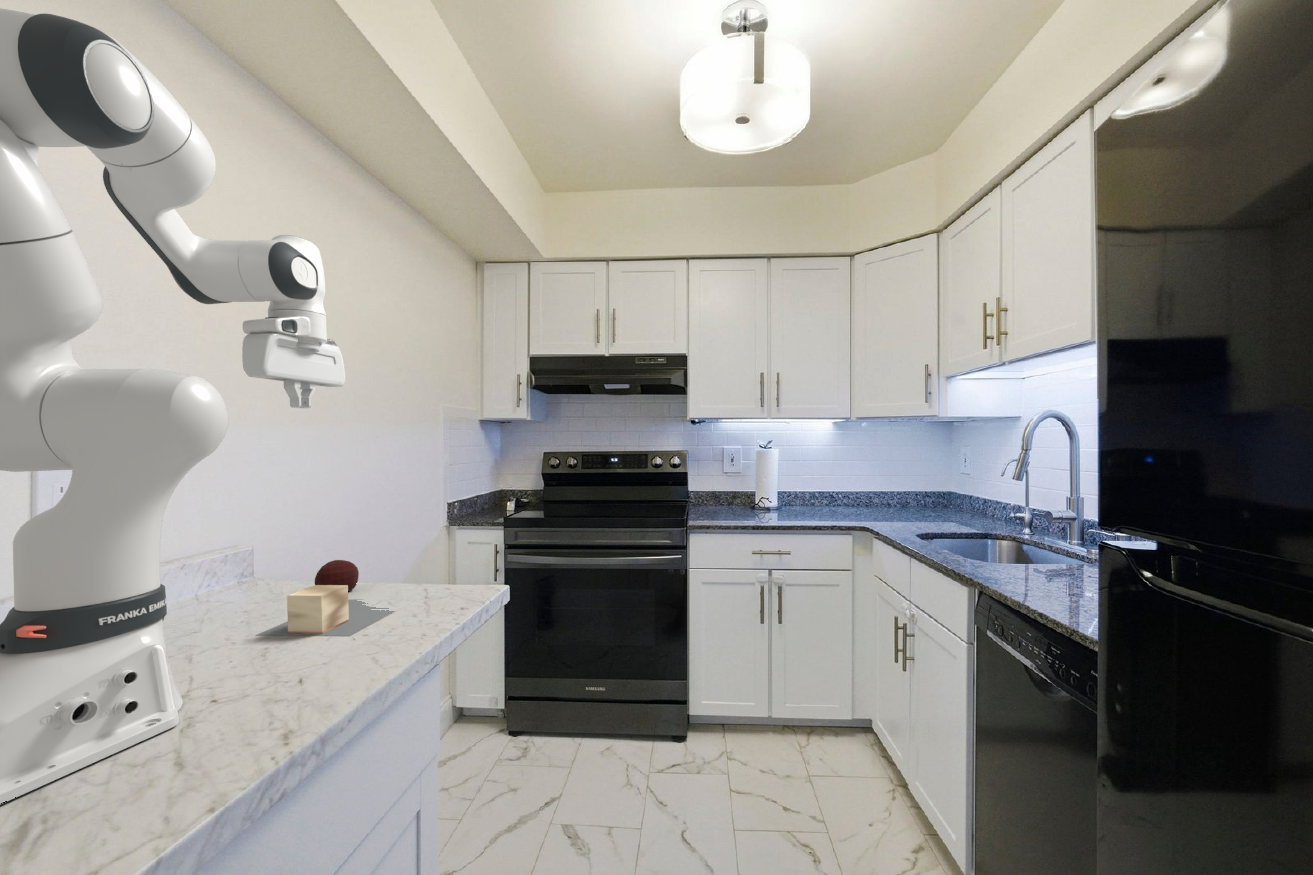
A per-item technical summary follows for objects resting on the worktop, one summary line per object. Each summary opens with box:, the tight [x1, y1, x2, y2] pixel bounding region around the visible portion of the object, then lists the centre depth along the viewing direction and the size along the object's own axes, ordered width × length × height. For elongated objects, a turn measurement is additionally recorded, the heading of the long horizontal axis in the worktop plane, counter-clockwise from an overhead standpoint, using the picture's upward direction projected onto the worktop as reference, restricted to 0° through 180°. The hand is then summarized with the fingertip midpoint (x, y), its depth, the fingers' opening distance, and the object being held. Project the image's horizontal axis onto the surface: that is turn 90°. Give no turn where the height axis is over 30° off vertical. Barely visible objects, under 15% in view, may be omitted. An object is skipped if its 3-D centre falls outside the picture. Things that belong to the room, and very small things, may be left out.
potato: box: [314, 559, 360, 592], centre depth 110 cm, size 7×8×7 cm
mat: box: [255, 599, 395, 637], centre depth 94 cm, size 19×16×1 cm
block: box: [286, 584, 349, 634], centre depth 89 cm, size 6×6×6 cm
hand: (300, 407), depth 98 cm, fingers closed
